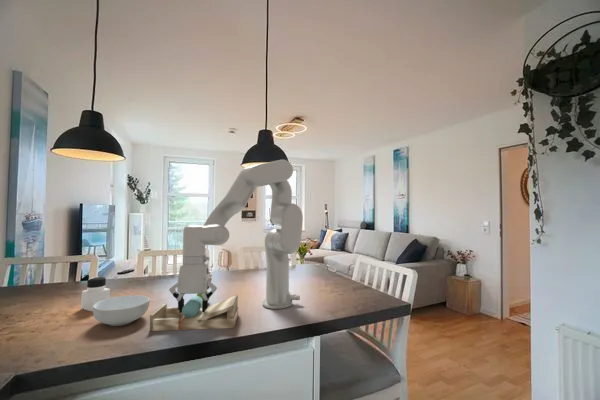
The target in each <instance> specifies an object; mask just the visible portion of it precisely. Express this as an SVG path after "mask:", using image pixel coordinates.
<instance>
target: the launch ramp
mask: <svg viewBox="0 0 600 400" xmlns="http://www.w3.org/2000/svg"><path fill="white" fill-rule="evenodd" d="M238 299H239V295H238V294H236V295H234V296H231V297H229V298H226V299H224V300H221V301H219V302H216V303H214V304H212V305H208V308H207V309H206V310H205V312H202V307H201V308H200V310H199V311H198V312H197V314H196V315H195V316H194V317H192V318H186V317H185V316H184V315H183V314H182V312H181V313H179V310H178V306H175V307H174V306H172V307H170V306H169V307H167V306H168V305H167V304H168V303H163V304H161V306H159V307H158V308H157V309H156V310H155V311H153V312H152V313H151V314H150V315H149V331H151V332H153V331H155V332H156V331H158V332H159V331H183V330H184V331H185V330H187V331H188V330H190V331H191V330H211V329H214V330H215V329H217V330H218V329H235V326H236V323H237V319H238V317H239V306H238V301H239V300H238Z"/></svg>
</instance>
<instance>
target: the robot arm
mask: <svg viewBox="0 0 600 400" xmlns="http://www.w3.org/2000/svg"><path fill="white" fill-rule="evenodd" d="M293 173H294V168H293V165H292V164H291V162H290V161H288V160H287V159H279V160H278V159H277V160H273V161H269V162H265V163H258V164H253V165H250V166H246V167H244V168H243V169H242V170H241V171H240V172H239V173H238V175H237V176H236V179H235V180H234V182H233V183H232V185H231V186H230V188H229V190H228V192H227V193H226V195H225V196H224V197H223V199H222V200H221V201H220V202H219V204H217V205H216V206H215V208H214V209H213V211H211V212H210V214H209V216H208V218H207V219H206V220H205V222H204V224H203V225H201V224H198V225H196V224H194V225H193V224H192V225H186V226H184V228H183V231H182V232H183V233H182V263H181V264H180V265H179V271H178V275H177V276H178V277H177V282H176V283H175V284H173V286H171V287H170V288H169V289H168V291H169V292H170V293H171V294H172V296H173V297H174V298H175V299H176V301H177V307H178V310H179V313H181V312H182V308H183V306H184V305H185V298H184V296H185V294H186V295H192V294H194V295H197V294H199V293H201V295H202V297H203V298H204V299H203V301H202V307H201V308H202V312H205V310H206V309H207V308H208V307H209V300H208V298H209V297H212V296H213V294H214V293H215V292H216V290H218V286H216V285H215V284H213V283H212V281H211V282H210V281H209V278H210V271H209V270H210V269H209V265H208V263H207V262H209V261H210V256H207V254H206V246H222V245H224V244H226V243H227V242H228V240H229V238H230V231H229V229H228V228H227V227H226V224H228V222H229V220H230V219H232V218H233V217H234V216H235V215H237V214H238V213H241V211H243V210H244V209H245V208H246V206H247V204H248V202H249V200H250V199H251V197H252V195H253V194H254V192H255V190H256V189H257V188H260V187H264V186H269V187H270V190H271V206H270V213H269V214H270V215H269V219H270V222H271V223H272V224H274V226H275V225H276V226H280V228H273V229H271V230H269V231H268V232H267V233H266V234H265V237H264V247H265V248H264V249H265V253H266V254H265V255H266V257H265V258H266V273H265V275H266V280H265V281H266V283H265V284H266V287H265V292H266V293H265V295H266V297H265V299H263V300H262V306H263V308H264V307H265V308H267V309H272V310H280V309H288V308H289V307H292V306H293V301H300V299H301V297H300V295H299V294H296V293H295V294H292V293H290V258H289V255H292V254H294V253H296V252H298V250H299V248H300V245H301V241H302V233H303V231H302V230H303V223H304V222H303V220H304V219H303V217H304V216H303V211H302V209H301V208H300V206H299V205H298V204H296V203H292V200H293V199H292V197H293V196H292V195H293V193H292V191H293V190H292V186H291V184H290V183H289V181H288V180H289V179H290V178H292V176H293ZM176 289H177V290H176ZM209 289H211V290H210V291H208V290H209ZM207 291H208V292H209V293H207ZM209 299H210V298H209Z"/></svg>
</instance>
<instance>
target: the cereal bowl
mask: <svg viewBox="0 0 600 400" xmlns="http://www.w3.org/2000/svg"><path fill="white" fill-rule="evenodd" d="M150 301H151V299H150V298H149V297H148V296H146V295H140V294H138V295H137V294H129V295H127V294H125V295H120V296H119V295H118V296H114V297H110V298H108V299H105V300H102V301H99V302H97V303H96V304H94V306H93V311H92V313H93V317H94V319H95V320H96V321H97V322H99V323H101V324H104V325H107V326H112V327H116V326H117V327H121V326H125V325H129V324H131V323H133V322H135V321H136V320H138V319H139V318H141V317H143V316H144V315H145V314H146V313H147V311H148V310H149V307H150V303H151V302H150Z"/></svg>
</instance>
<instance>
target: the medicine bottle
mask: <svg viewBox="0 0 600 400" xmlns="http://www.w3.org/2000/svg"><path fill="white" fill-rule="evenodd" d="M106 282H107V278H106V277H104V276H94V277H91V278H89V279H87V285H86V286H87V288H86V289H85V290H82V291H81V299H80V301H81V303H80V305H81V306H80V310H83V309H84V311H88V312H92V313H93V306H94V304H96V303H97V302H99V301H102V300H105V299H108V298H111V291H112V290H111V289H110V288H107V287H106V286H107V284H106Z"/></svg>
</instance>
